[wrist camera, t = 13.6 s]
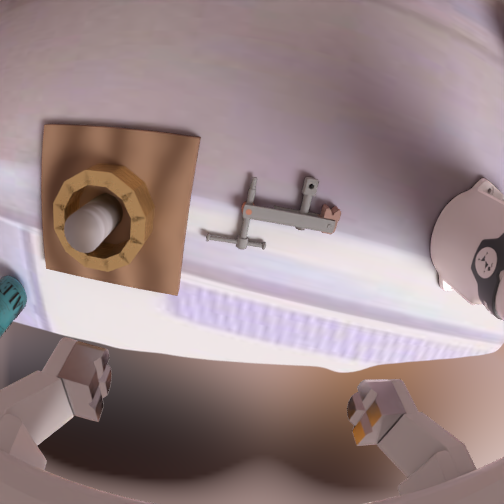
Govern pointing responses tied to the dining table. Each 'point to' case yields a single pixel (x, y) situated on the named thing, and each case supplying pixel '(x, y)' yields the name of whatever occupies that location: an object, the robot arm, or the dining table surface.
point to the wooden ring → (135, 203)
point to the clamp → (284, 216)
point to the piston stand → (120, 200)
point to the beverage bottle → (10, 301)
